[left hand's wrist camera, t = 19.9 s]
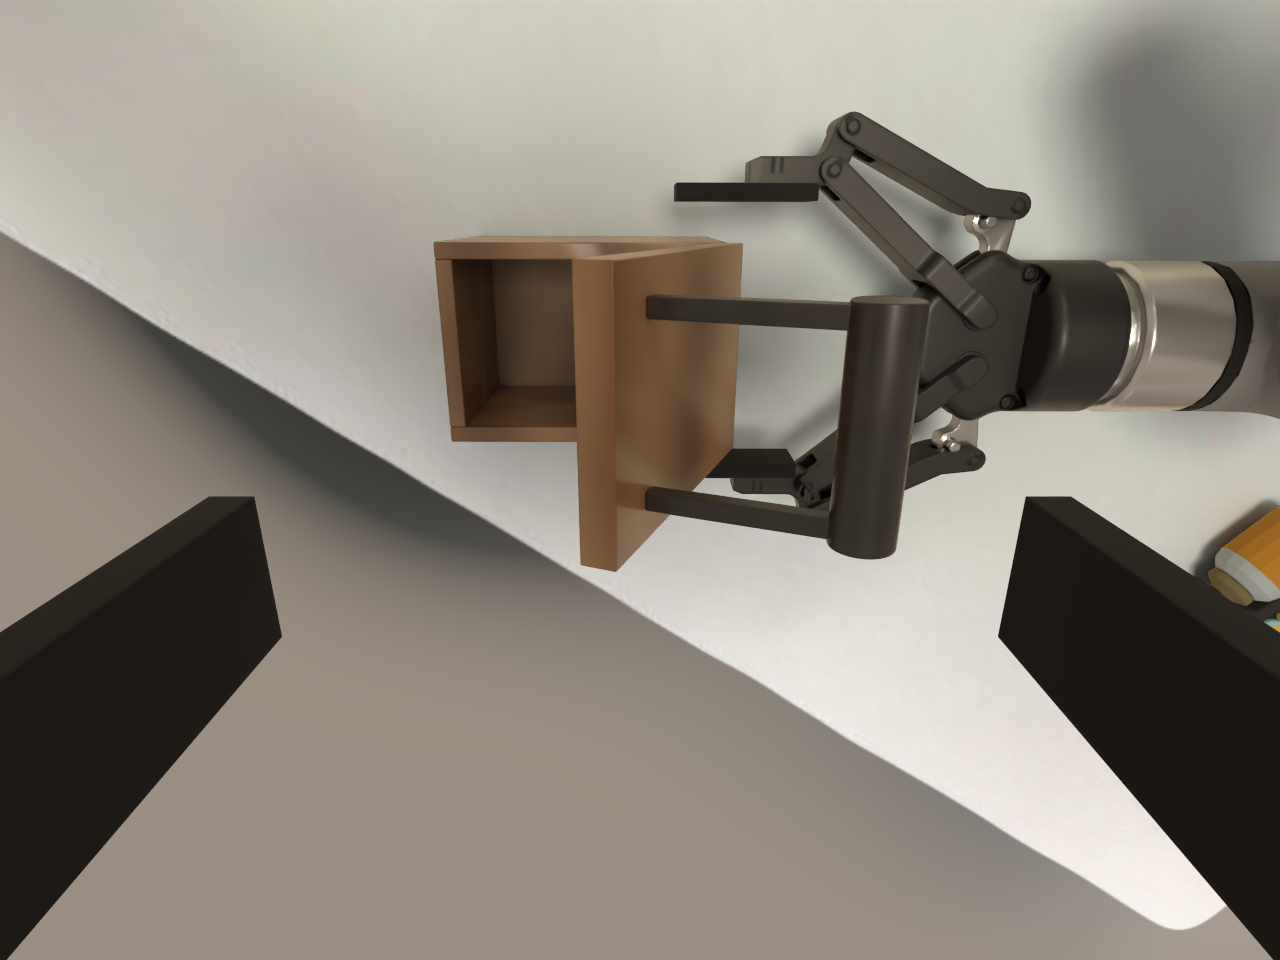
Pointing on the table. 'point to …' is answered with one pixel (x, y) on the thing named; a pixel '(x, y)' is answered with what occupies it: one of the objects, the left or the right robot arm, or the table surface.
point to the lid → (725, 400)
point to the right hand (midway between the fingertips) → (671, 336)
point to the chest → (517, 331)
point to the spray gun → (1252, 569)
